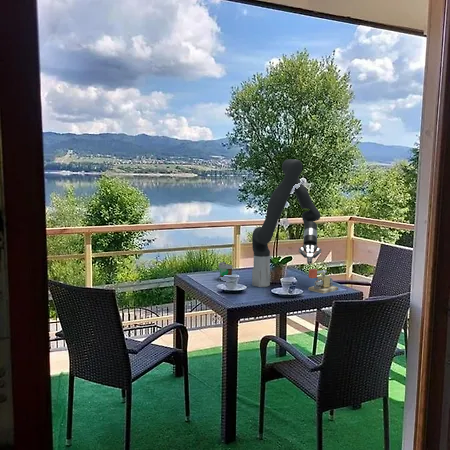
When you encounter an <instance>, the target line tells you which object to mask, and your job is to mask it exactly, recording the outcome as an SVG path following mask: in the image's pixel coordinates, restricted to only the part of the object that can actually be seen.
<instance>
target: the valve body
mask: <svg viewBox="0 0 450 450" xmlns="http://www.w3.org/2000/svg"><path fill="white" fill-rule="evenodd" d="M333 282H334V281H333V278H332V277H331V276H330V275H329V276H328V275H325V276H322V275H317V279H316V280H315V281H314V282H313V283H314V285H313V286H314V288H315V289H321V287H322V288H325V287H331V286H334V285H333Z"/></svg>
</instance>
